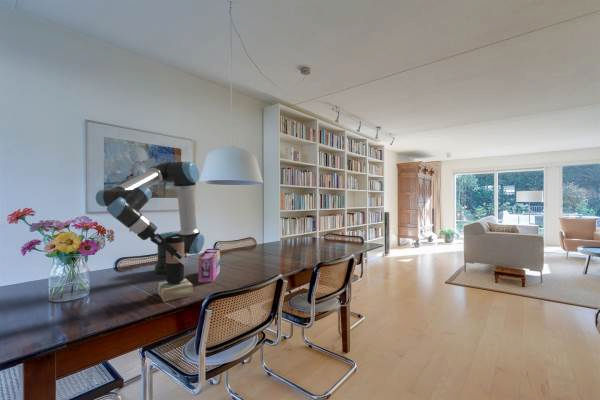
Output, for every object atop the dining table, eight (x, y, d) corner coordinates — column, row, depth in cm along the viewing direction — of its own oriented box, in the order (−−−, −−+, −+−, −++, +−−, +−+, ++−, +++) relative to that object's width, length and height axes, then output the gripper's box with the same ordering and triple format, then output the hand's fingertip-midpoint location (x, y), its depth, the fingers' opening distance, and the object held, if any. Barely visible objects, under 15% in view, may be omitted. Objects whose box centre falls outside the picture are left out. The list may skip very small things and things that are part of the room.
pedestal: (158, 293, 128) (158, 282, 128) (185, 288, 136) (185, 277, 136) (163, 301, 119) (163, 289, 119) (192, 295, 126) (192, 284, 126)
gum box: (213, 283, 145) (213, 256, 144) (197, 283, 144) (197, 257, 143) (220, 270, 168) (220, 248, 168) (206, 271, 167) (206, 248, 167)
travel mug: (168, 284, 122) (168, 238, 122) (163, 280, 128) (163, 236, 127) (186, 280, 127) (186, 236, 127) (181, 277, 133) (181, 234, 132)
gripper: (133, 232, 126) (171, 263, 136) (139, 237, 109) (183, 272, 120) (146, 219, 129) (183, 250, 139) (154, 223, 113) (195, 258, 123)
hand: (183, 260), depth 129 cm, fingers closed on travel mug, 7 cm apart
